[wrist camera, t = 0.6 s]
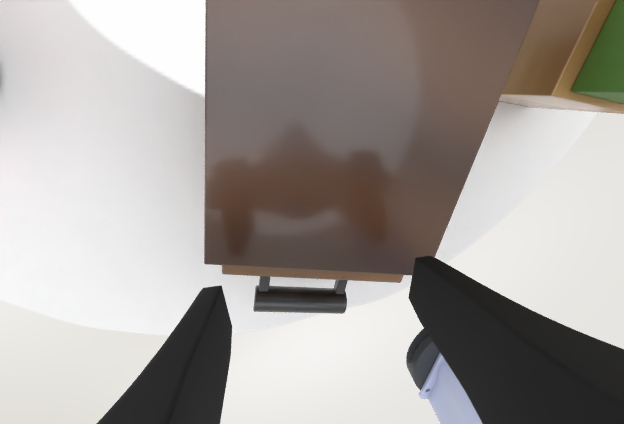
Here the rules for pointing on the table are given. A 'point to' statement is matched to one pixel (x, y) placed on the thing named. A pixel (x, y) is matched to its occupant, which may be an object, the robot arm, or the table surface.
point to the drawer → (303, 289)
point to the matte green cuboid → (605, 61)
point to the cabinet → (347, 125)
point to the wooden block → (558, 57)
